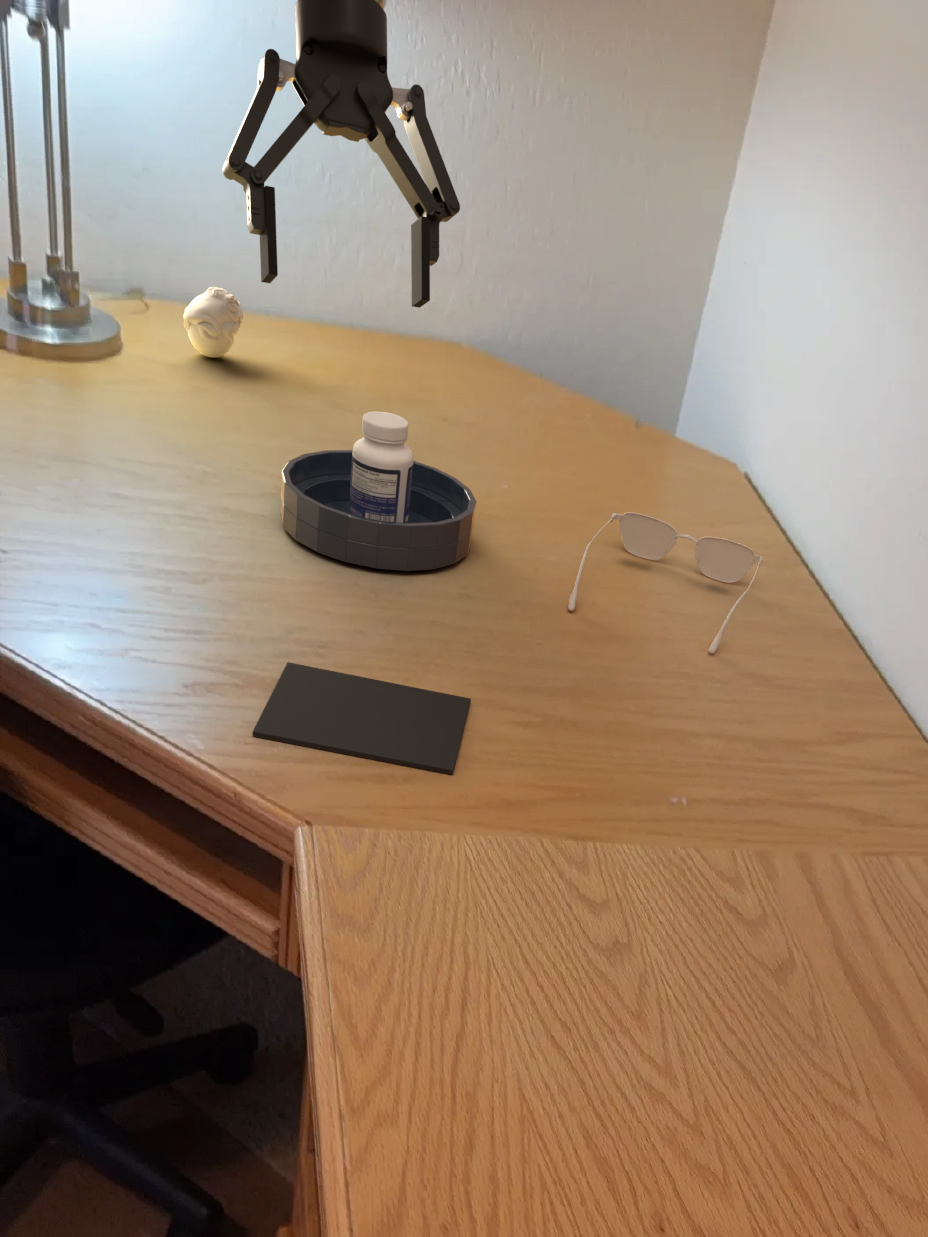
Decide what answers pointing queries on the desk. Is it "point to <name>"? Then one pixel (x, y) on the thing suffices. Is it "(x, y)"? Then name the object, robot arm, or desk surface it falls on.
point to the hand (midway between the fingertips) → (347, 292)
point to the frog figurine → (213, 321)
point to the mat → (365, 718)
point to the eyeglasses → (660, 537)
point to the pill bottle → (381, 469)
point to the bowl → (326, 526)
